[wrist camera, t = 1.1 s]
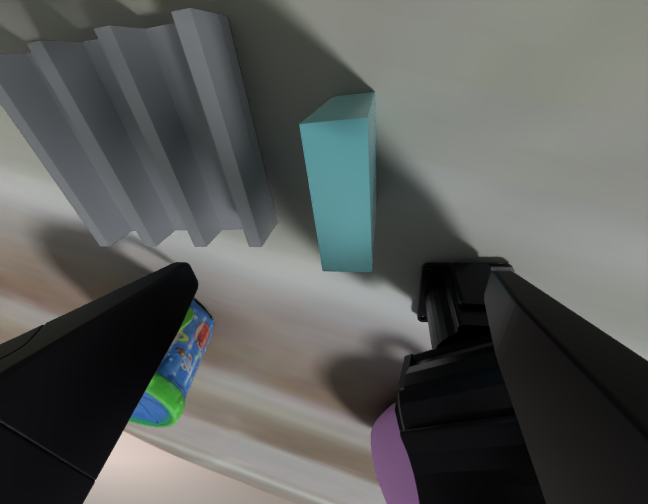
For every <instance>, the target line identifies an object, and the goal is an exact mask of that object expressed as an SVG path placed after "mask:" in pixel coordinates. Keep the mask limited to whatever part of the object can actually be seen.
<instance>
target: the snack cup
mask: <svg viewBox="0 0 648 504" xmlns="http://www.w3.org/2000/svg"><path fill="white" fill-rule="evenodd" d="M213 326H214V322H213V319H211V318H210V316H209V314H208V313H207V312H206V311H205V310H204V309H203V308H202V307H201V306H200V305H198V304H197V303H196V302H195V300H193V301H192V303H191V305H190V308H189V310H188V312H187V314H186V317H185V319H184V321H183V323H182V325H181V328H180V330H179V332H178V333H177V335H176V337H175V339H174V341H173V342H172V344H171V346H170V348H169V350H168V351H167V353H166V355H165V357H164V359H163V360H162V362H161V364H160V366H159V368H158V369H157V371H156V373H155V375H154V376H153V378H152V380H151V382H150V384H149V385H148V387H147V389H146V391H145V393H144V394H143V396H142V398H141V400H140V402H139V403H138V405H137V407H136V409H135V411H134V412H133V414H132V416H131V418H130V419H129V421H130V422H133V423H137V424H140V425H145V426H150V427H170V426H172V425H174V424H175V423H176V422H177V420H178V419H179V417H180V416H181V414H182V412H183V410H184V407H185V398H186V395H187V392H188V390H189V387H190V386H191V384H192V381H193V379H194V377H195V374H196V372H197V370H198V367H199V365H200V362H201V360H202V358H203V354H204V352H205V351H206V347H207V345H208V343H209V341H210V337H211V335H212V333H213Z"/></svg>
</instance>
